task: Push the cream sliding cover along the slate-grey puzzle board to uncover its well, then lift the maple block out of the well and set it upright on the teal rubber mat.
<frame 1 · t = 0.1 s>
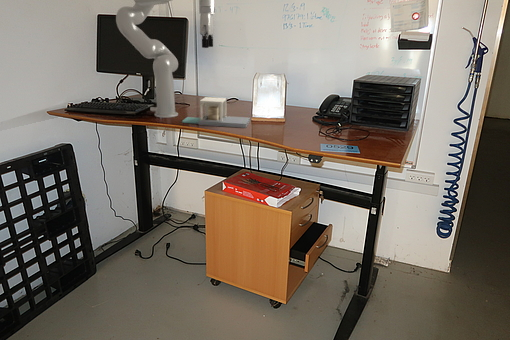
hand: (207, 47, 193), 36 cm above the table, tool pointing down, fingers open, 9 cm apart
teal mat: (193, 121, 198), on the table
puzzle board: (225, 123, 196), on the table
maple block: (213, 122, 197), resting in puzzle board
sliding cover: (213, 108, 194), point 7 cm above the table, slide at 0.0 cm
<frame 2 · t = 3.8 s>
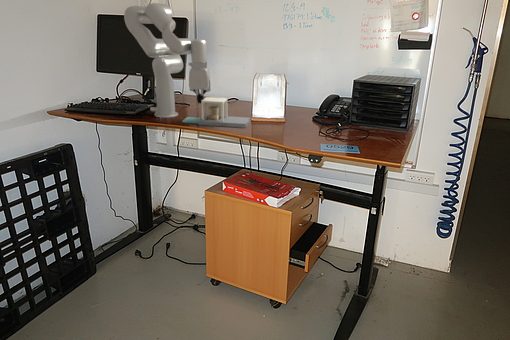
hand: (200, 102, 194), 10 cm above the table, tool pointing down, fingers closed
sliding cover: (214, 109, 194), point 7 cm above the table, slide at 0.6 cm, touching gripper
everything else where it was.
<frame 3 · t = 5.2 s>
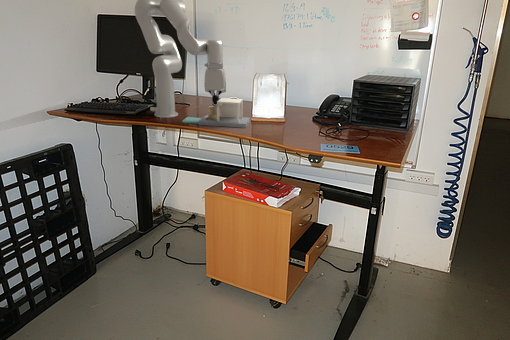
hand: (215, 103, 193), 10 cm above the table, tool pointing down, fingers closed
sliding cover: (230, 109, 193), point 7 cm above the table, slide at 8.6 cm, touching gripper
everything else where it was.
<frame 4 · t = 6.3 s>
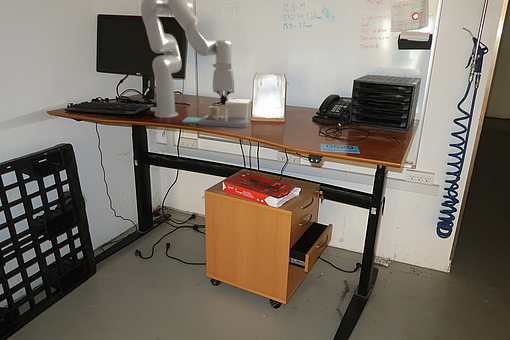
hand: (223, 104, 192), 10 cm above the table, tool pointing down, fingers closed
sliding cover: (238, 110, 192), point 7 cm above the table, slide at 12.8 cm, touching gripper
everything else where it was.
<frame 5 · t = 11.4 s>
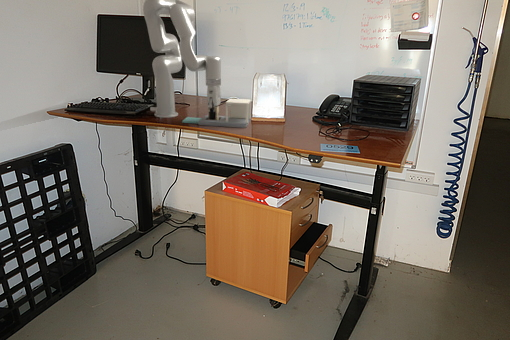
hand: (213, 117, 196), 2 cm above the table, tool pointing down, fingers closed on maple block, 4 cm apart
maple block: (213, 122, 197), resting in puzzle board, touching gripper
sliding cover: (238, 110, 192), point 7 cm above the table, slide at 13.0 cm
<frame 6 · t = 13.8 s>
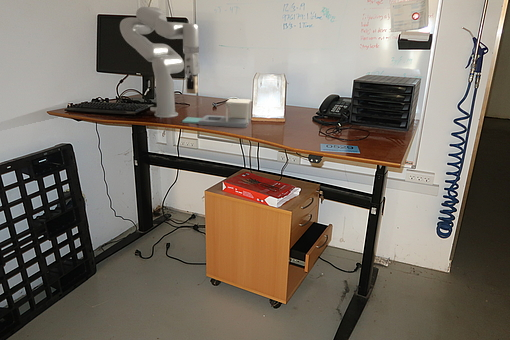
hand: (192, 87, 192), 17 cm above the table, tool pointing down, fingers closed on maple block, 4 cm apart
maple block: (192, 92, 193), point 15 cm above the table, touching gripper
everything else where it was.
when the fingers open (5 cm above the table, at t = 16.4 s): maple block drops 1 cm, resting on teal mat.
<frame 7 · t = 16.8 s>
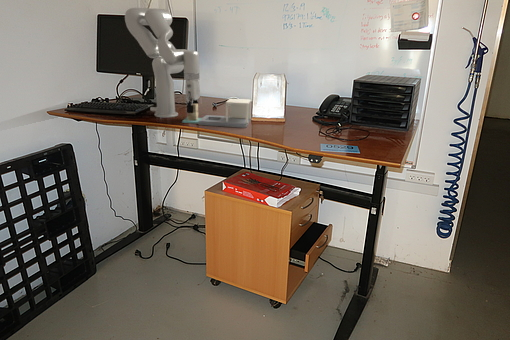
hand: (192, 110, 196), 5 cm above the table, tool pointing down, fingers open, 8 cm apart
maple block: (193, 119, 198), point 1 cm above the table, touching teal mat
everything else where it was.
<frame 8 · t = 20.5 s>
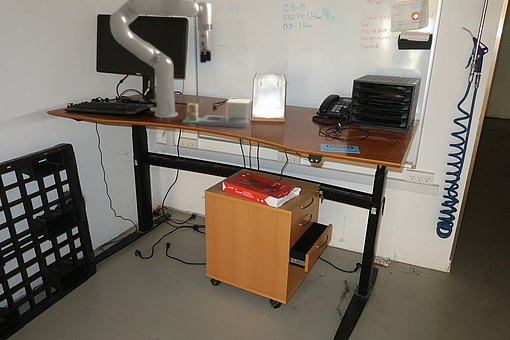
hand: (205, 61, 206), 28 cm above the table, tool pointing down, fingers open, 9 cm apart
nothing on the table moved.
at the end: sliding cover slide at 13.0 cm; maple block inside the target area on the teal mat (0.2 cm from its centre), point 0.8 cm above the teal mat's base; maple block tilted 0° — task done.
